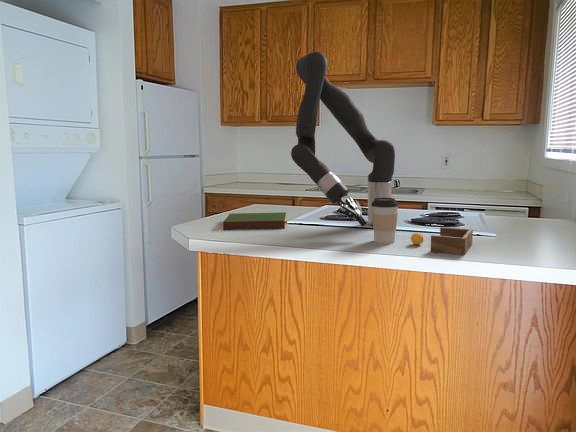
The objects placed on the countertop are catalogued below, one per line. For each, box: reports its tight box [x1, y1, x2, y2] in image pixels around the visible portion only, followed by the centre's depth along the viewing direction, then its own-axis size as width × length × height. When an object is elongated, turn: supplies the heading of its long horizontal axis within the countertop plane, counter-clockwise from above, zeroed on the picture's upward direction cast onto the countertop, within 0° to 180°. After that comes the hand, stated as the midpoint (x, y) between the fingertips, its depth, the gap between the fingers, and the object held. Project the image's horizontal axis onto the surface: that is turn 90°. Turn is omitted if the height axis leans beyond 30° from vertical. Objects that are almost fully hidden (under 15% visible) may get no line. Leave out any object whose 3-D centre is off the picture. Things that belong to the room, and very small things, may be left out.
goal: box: [430, 226, 474, 256], centre depth 148 cm, size 14×10×5 cm
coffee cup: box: [371, 197, 400, 245], centre depth 158 cm, size 9×9×15 cm
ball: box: [410, 232, 424, 246], centre depth 154 cm, size 4×4×4 cm
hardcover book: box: [222, 211, 288, 231], centre depth 194 cm, size 25×19×4 cm
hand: (365, 224), depth 162 cm, fingers closed
